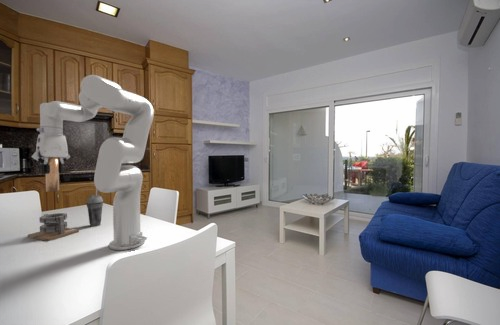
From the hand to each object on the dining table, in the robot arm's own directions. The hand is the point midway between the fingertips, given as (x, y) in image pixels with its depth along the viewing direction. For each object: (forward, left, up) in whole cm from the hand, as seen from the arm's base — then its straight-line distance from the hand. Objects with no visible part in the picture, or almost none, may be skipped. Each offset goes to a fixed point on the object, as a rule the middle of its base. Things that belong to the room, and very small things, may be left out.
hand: (52, 172), depth 101 cm
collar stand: (0, 0, -28) cm, 28 cm away
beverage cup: (-4, -16, -28) cm, 33 cm away
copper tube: (0, 0, -8) cm, 8 cm away
